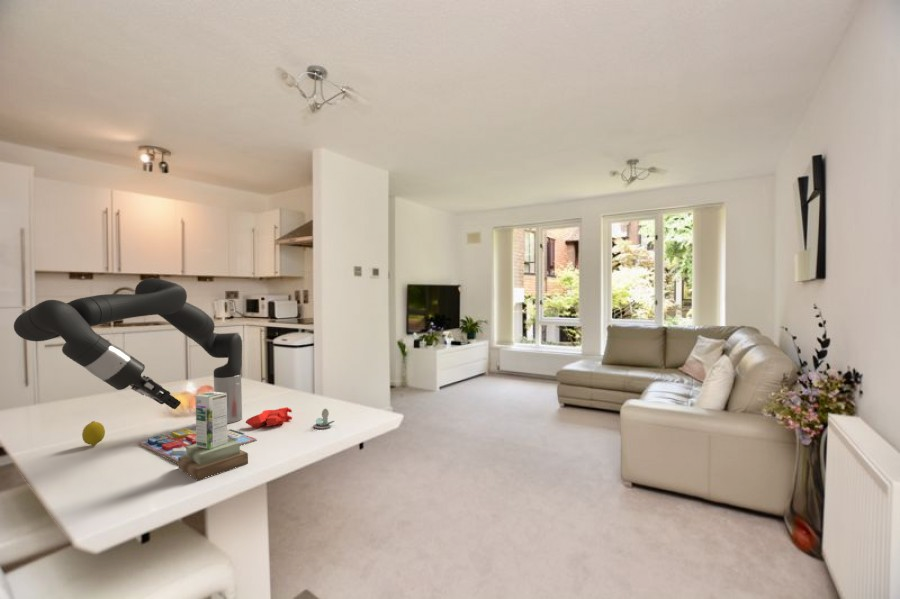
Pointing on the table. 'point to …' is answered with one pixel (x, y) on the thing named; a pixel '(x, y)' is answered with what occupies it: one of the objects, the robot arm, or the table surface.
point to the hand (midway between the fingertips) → (171, 403)
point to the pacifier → (325, 420)
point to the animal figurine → (270, 417)
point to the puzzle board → (184, 442)
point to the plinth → (211, 466)
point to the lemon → (93, 433)
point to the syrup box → (211, 419)
